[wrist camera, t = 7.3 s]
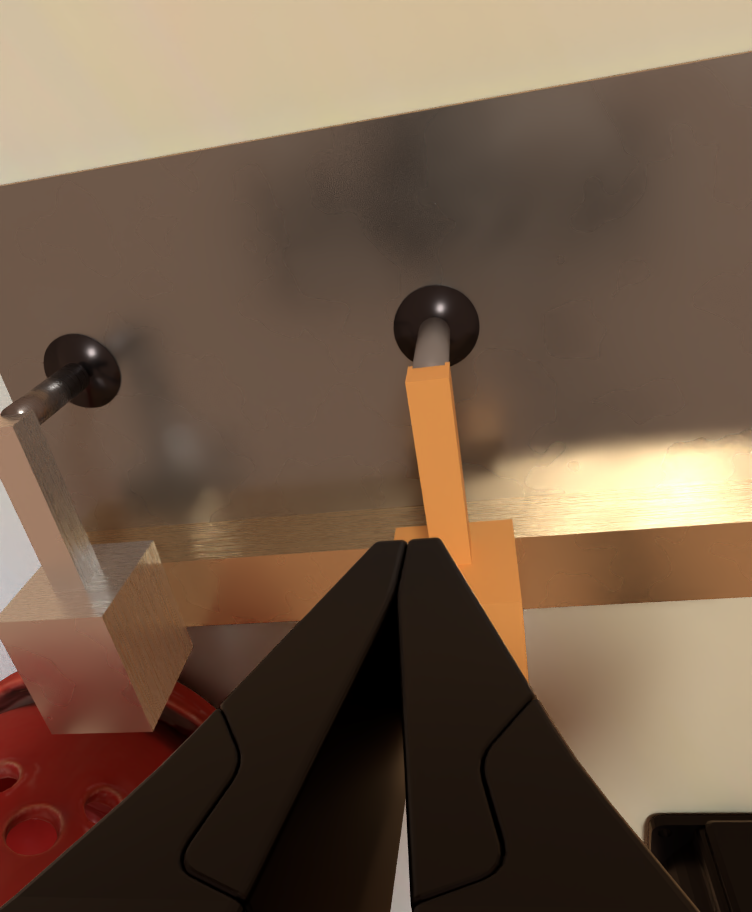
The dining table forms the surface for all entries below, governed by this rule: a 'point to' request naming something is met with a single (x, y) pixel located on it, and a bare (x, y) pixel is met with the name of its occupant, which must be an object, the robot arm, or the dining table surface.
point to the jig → (376, 367)
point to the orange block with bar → (459, 493)
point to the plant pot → (71, 776)
